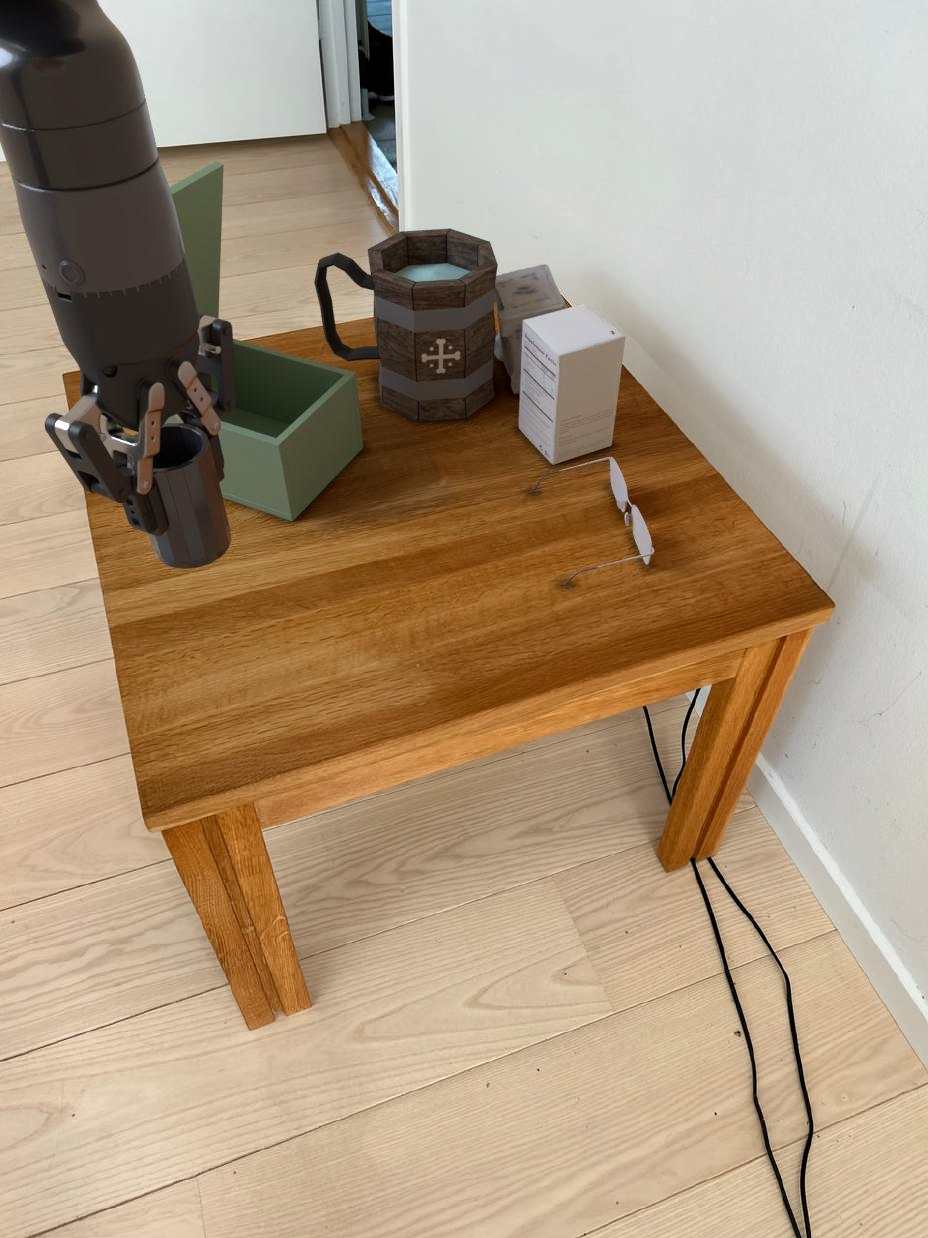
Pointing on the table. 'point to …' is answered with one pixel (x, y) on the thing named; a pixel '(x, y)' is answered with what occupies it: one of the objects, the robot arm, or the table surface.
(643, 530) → the eyeglasses
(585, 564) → the table surface
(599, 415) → the white packaging box
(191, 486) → the cup
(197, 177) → the lid
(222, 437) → the chest
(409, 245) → the mug
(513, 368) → the incense holder
